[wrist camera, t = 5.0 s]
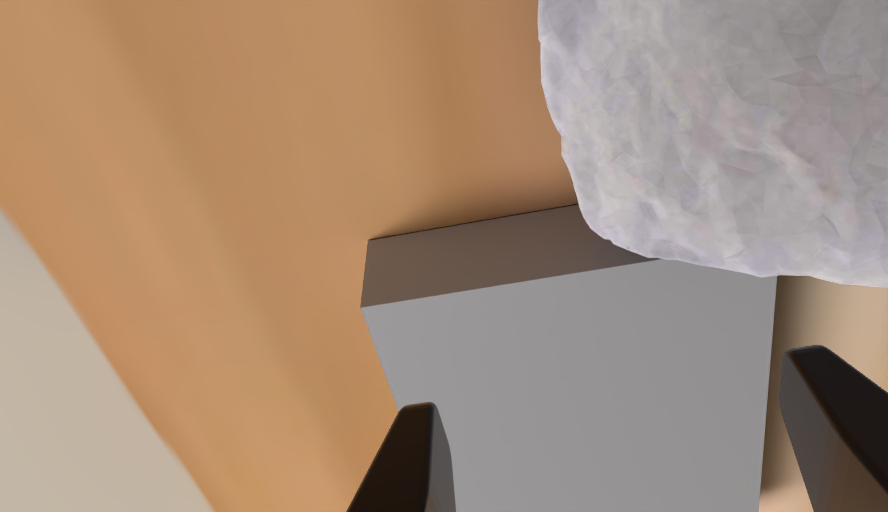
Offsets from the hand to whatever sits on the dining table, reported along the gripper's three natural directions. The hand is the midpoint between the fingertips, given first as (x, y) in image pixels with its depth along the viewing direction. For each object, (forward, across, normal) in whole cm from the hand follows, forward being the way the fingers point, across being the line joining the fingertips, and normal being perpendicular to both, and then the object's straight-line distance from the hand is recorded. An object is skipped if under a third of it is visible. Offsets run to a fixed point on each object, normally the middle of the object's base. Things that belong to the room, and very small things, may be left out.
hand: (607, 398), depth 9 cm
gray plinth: (+12, 0, +14) cm, 19 cm away
